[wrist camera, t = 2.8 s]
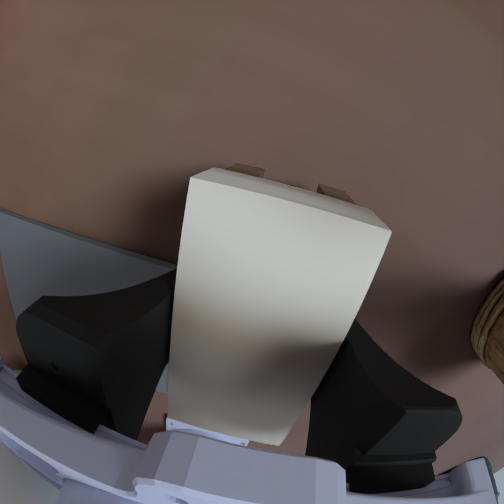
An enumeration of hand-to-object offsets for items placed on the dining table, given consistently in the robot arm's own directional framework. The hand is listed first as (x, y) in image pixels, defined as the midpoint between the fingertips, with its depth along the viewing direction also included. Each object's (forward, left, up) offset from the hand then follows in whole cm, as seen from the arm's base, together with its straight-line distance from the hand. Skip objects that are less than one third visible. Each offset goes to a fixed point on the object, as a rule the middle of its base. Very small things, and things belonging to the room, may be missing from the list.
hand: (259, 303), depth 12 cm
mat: (-8, +14, -5) cm, 17 cm away
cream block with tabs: (0, 0, -3) cm, 3 cm away
